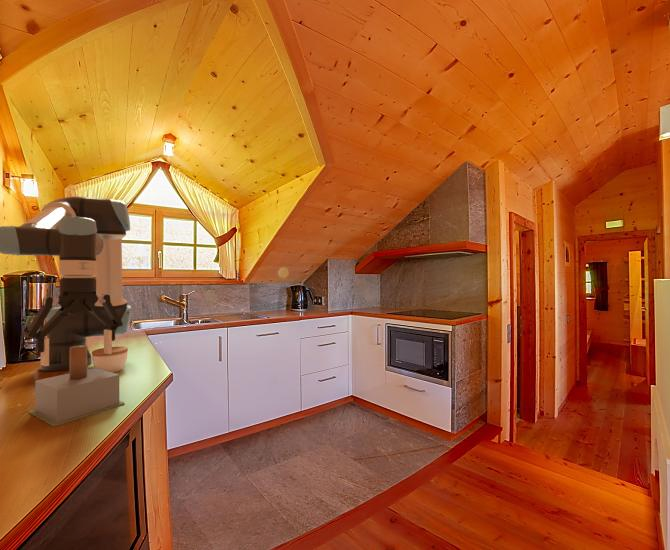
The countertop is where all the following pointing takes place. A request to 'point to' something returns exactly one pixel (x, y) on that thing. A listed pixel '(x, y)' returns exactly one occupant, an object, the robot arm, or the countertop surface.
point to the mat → (71, 418)
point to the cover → (76, 389)
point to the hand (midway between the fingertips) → (78, 359)
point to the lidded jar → (110, 359)
